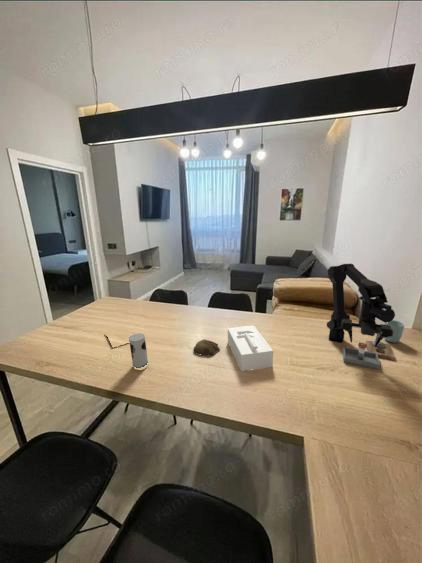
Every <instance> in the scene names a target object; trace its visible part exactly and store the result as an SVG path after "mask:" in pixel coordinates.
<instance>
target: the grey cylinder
mask: <svg viewBox="0 0 422 563" xmlns="http://www.w3.org/2000/svg"><path fill="white" fill-rule="evenodd" d="M133 334H134V333H133ZM129 342H130V343H129V348H130V354H131V356H130V357H131V362H132V367H133V366H134V367H136V368H141V367H144V366H145V365H147V363H148V364H149V360H148V352H147V343H146V335H145V334H144V333H135V334H134V335H132V336H130V337H129Z"/></svg>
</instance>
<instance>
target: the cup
mask: <svg viewBox="0 0 422 563" xmlns="http://www.w3.org/2000/svg"><path fill="white" fill-rule="evenodd" d="M384 325H390V326H391V328H392V330H393V336H392V337H390V336H388V337H385V338H384V340H386V341H387V342H389V343H393V344H394V343H398V342H401V339H402V337H403V333H404V329H405V324H404V323H402V322H400V321H398V320H394V319H393V320H392V321H390V322H388V323H386V322H384Z"/></svg>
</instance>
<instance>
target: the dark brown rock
mask: <svg viewBox="0 0 422 563" xmlns="http://www.w3.org/2000/svg"><path fill="white" fill-rule="evenodd" d="M217 352H220V347H219V344H218V343H216V342H214V341H212V340H209V339H204V338H203V339H202V340H199V341H198V342H196V344H195V346H194V347H193V353H194V354H196V353H197V355H198V354H201V355H200V356H203V355H205V356H206V355H212V356H214V355H216V353H217Z"/></svg>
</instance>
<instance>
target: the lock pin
mask: <svg viewBox="0 0 422 563" xmlns="http://www.w3.org/2000/svg"><path fill="white" fill-rule="evenodd" d="M357 346H358V350H359V351H358V356H357V359H358V360H363V358H364V353H365V351H366V349H367V345H366V342H365V343H364V342H359V343H358V345H357Z"/></svg>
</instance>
